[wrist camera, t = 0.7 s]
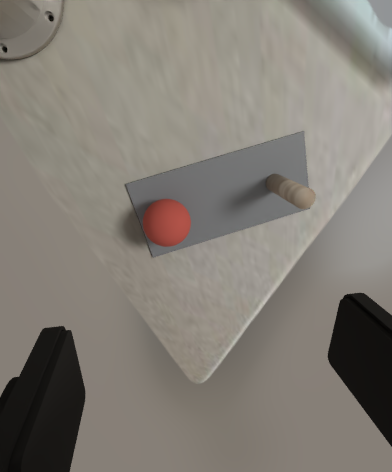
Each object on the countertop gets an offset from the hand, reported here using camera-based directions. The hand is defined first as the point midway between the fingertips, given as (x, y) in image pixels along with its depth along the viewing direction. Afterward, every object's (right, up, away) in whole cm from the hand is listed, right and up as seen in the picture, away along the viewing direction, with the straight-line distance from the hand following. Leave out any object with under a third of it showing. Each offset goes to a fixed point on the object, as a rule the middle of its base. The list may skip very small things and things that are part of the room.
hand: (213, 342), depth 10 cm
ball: (-4, +5, +26) cm, 26 cm away
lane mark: (+3, +9, +29) cm, 30 cm away
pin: (+10, +11, +29) cm, 33 cm away
